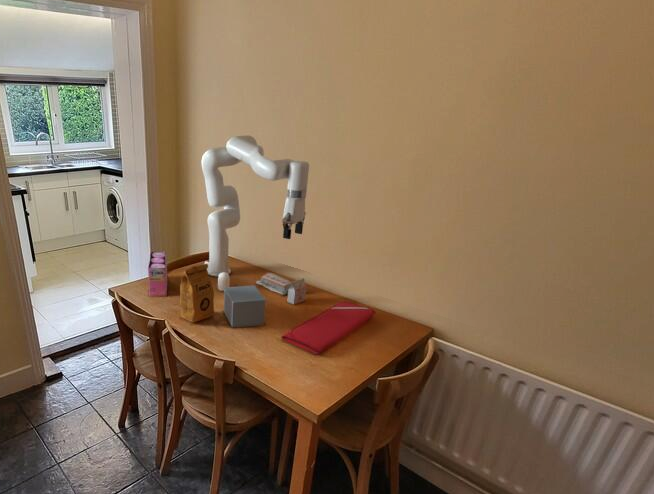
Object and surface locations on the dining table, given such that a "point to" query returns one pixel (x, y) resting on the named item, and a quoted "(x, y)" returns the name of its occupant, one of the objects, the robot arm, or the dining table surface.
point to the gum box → (157, 274)
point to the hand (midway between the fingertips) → (292, 235)
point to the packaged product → (275, 283)
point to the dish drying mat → (328, 327)
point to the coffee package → (196, 294)
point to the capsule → (223, 281)
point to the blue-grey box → (244, 306)
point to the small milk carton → (297, 292)
